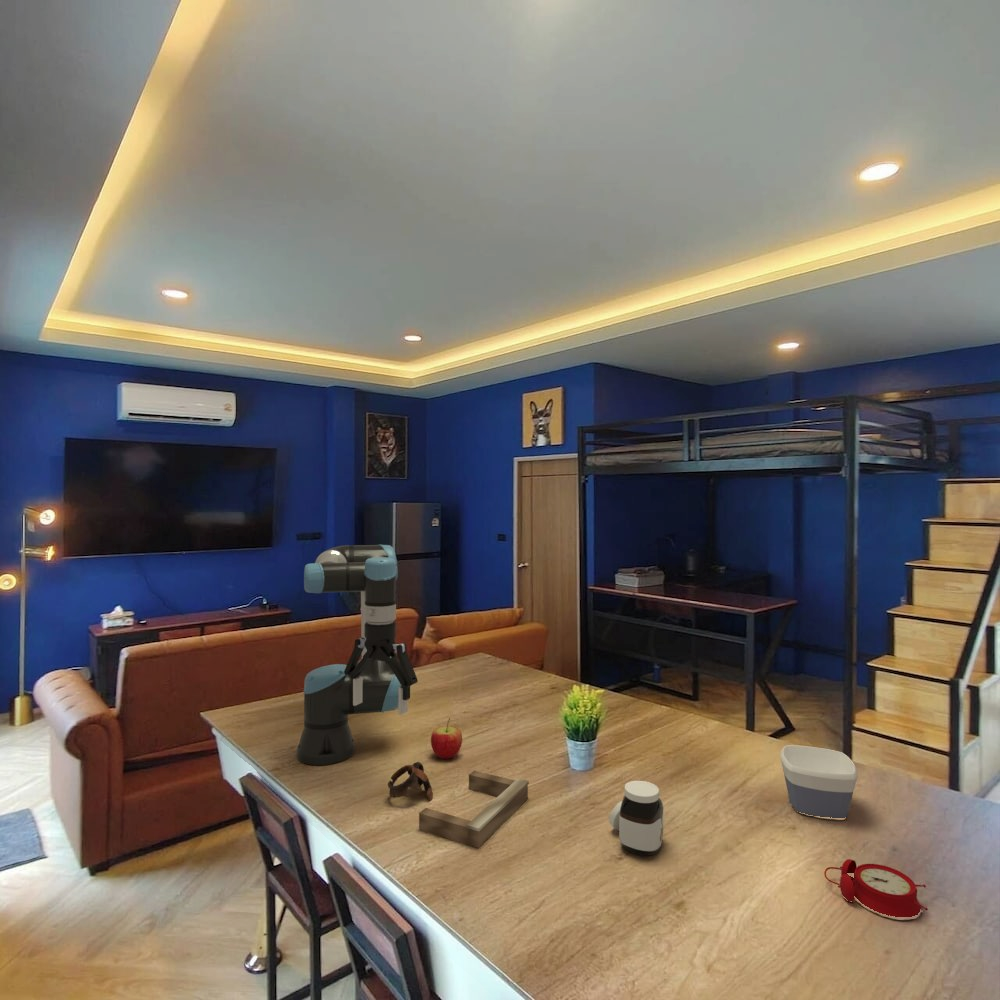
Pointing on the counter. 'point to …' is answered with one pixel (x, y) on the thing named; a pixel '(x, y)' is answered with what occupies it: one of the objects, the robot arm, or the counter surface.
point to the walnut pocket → (486, 821)
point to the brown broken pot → (410, 781)
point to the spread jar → (639, 818)
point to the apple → (446, 741)
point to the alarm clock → (879, 888)
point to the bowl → (818, 780)
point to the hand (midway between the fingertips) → (379, 708)
